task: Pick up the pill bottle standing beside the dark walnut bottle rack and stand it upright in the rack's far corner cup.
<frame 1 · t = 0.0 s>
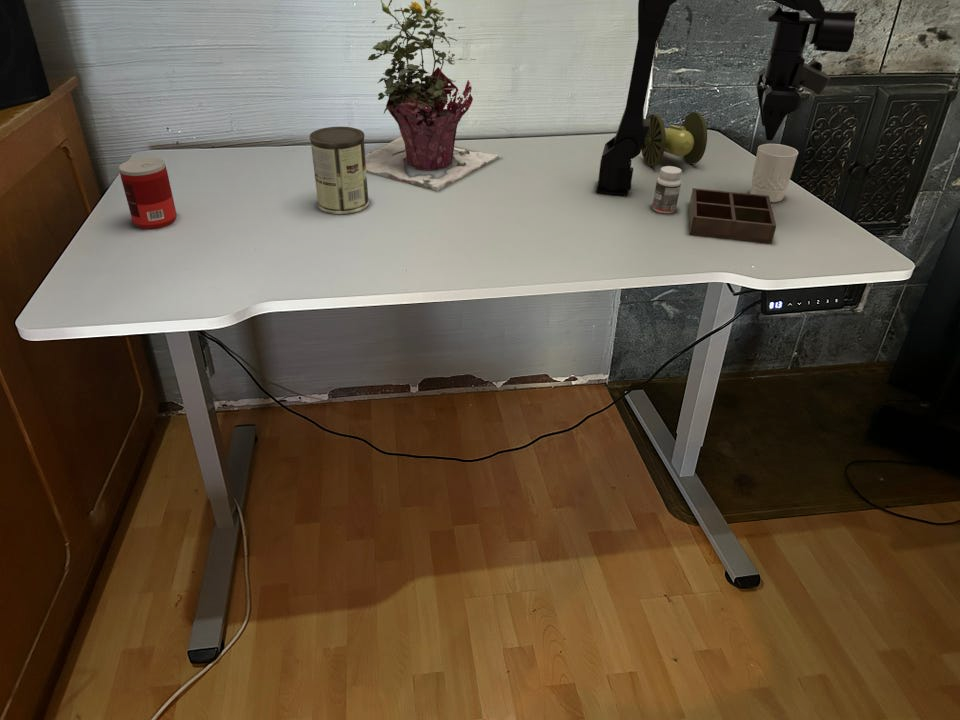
hand: (767, 132, 146), 15 cm above the table, tool pointing down, fingers open, 9 cm apart
potted flower: (421, 162, 171), on the table
pill bottle: (663, 210, 151), on the table
rack: (728, 223, 146), on the table
coffee can: (343, 205, 150), on the table
canned food: (155, 221, 141), on the table
cannon: (658, 155, 178), on the table
white cup: (766, 197, 158), on the table
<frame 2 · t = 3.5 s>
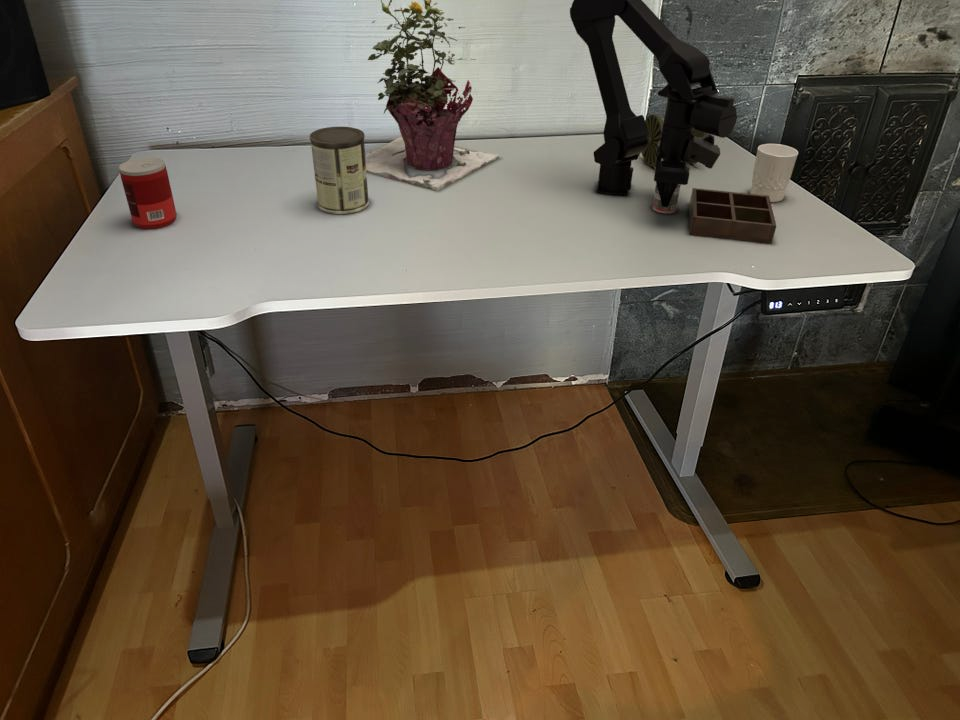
hand: (665, 201, 150), 2 cm above the table, tool pointing down, fingers closed on pill bottle, 5 cm apart
pill bottle: (663, 210, 151), on the table, touching gripper
everything else where it was.
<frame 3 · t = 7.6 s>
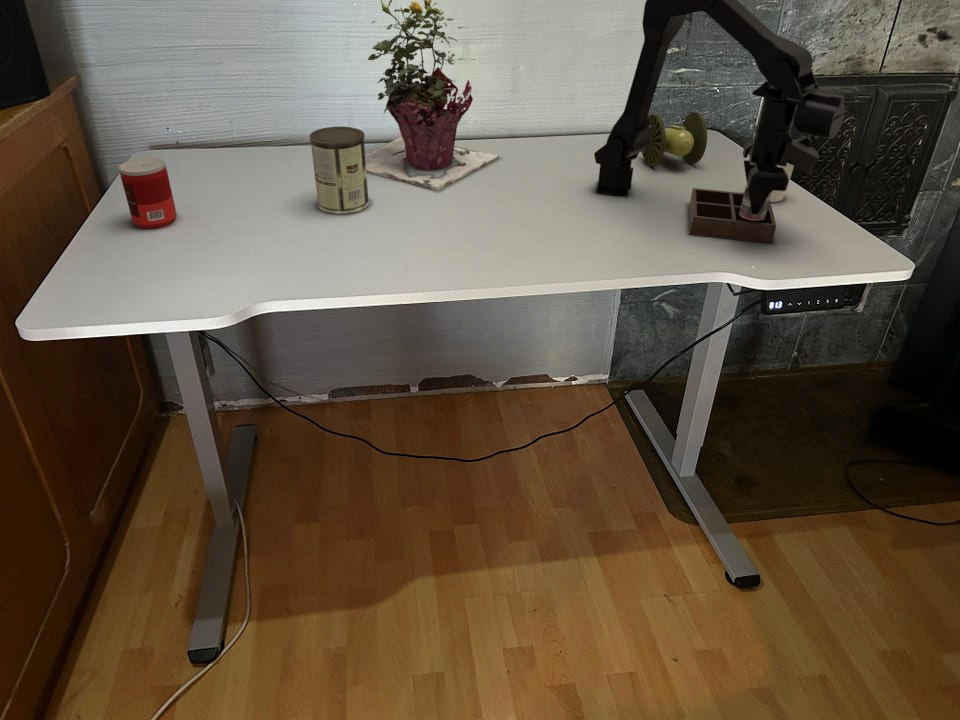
hand: (753, 208, 140), 5 cm above the table, tool pointing down, fingers closed on pill bottle, 5 cm apart
pill bottle: (751, 217, 141), point 3 cm above the table, touching gripper
everything else where it was.
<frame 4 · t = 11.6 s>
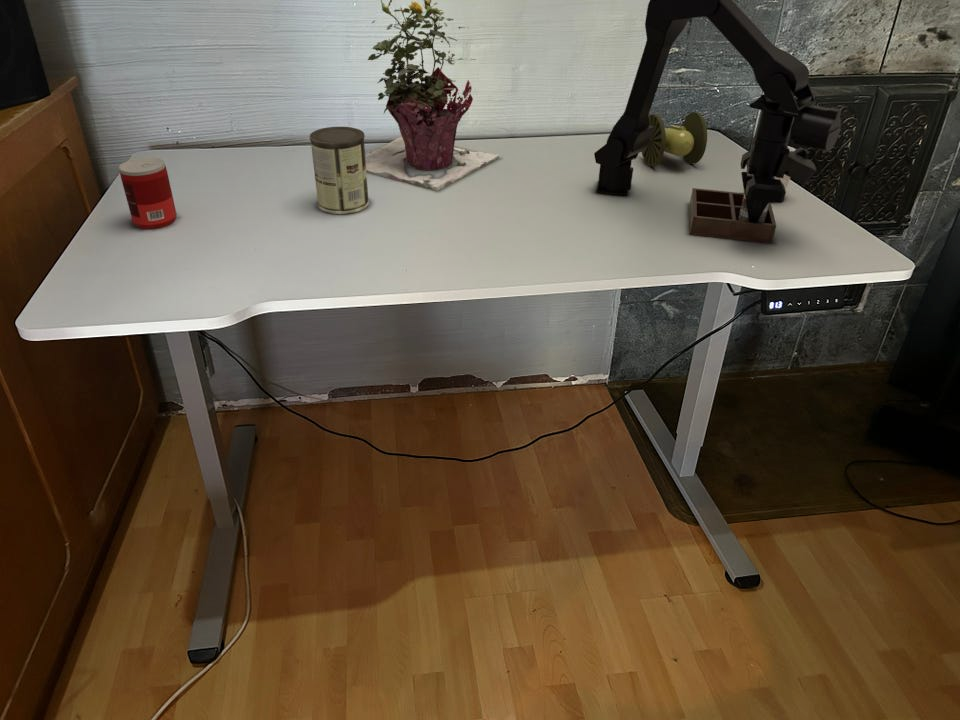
hand: (751, 219, 141), 3 cm above the table, tool pointing down, fingers closed on pill bottle, 5 cm apart
pill bottle: (749, 228, 142), point 1 cm above the table, touching gripper
everything else where it was.
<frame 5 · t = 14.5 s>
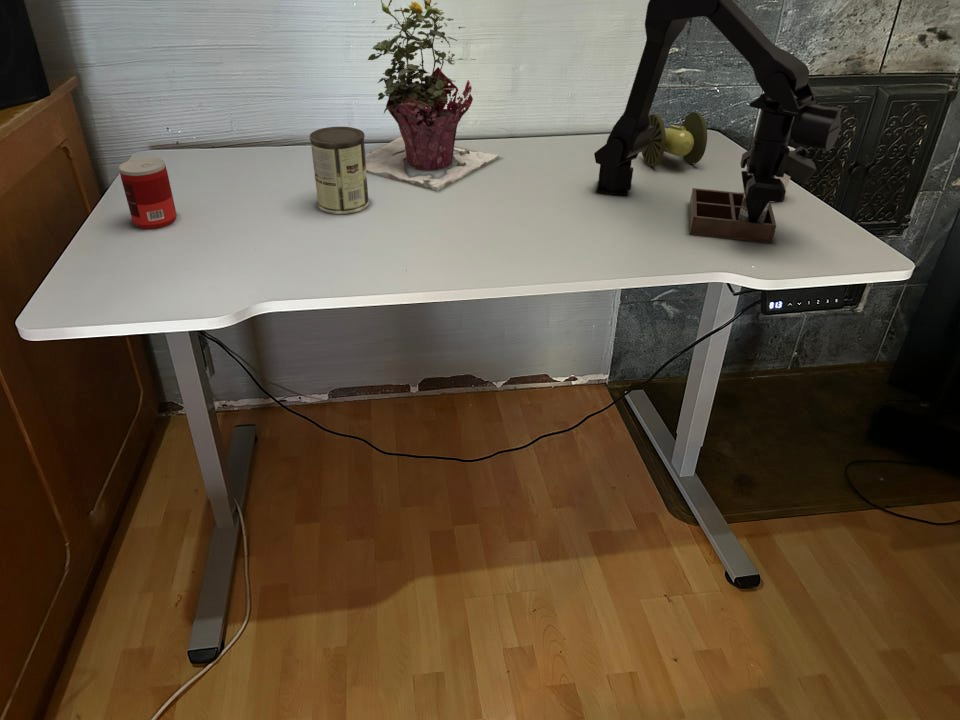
hand: (751, 218, 141), 3 cm above the table, tool pointing down, fingers closed on pill bottle, 5 cm apart
pill bottle: (749, 227, 142), point 1 cm above the table, touching gripper
everything else where it was.
when the fingers open (4 cm above the table, at t = 16.8 s): pill bottle drops 2 cm, resting on rack.
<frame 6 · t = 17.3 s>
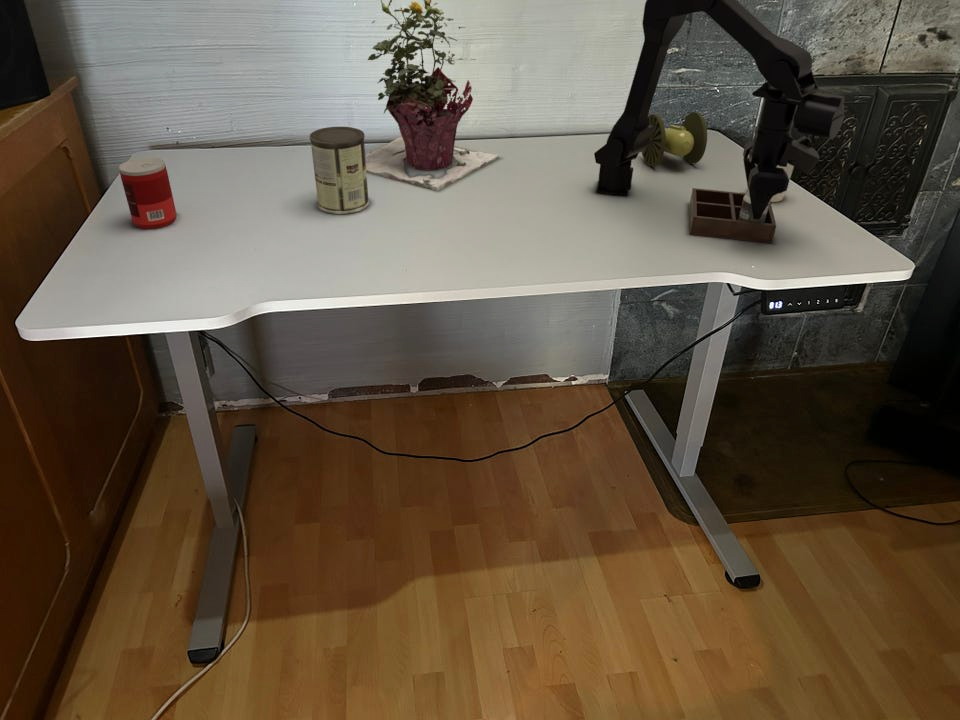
hand: (754, 209, 140), 5 cm above the table, tool pointing down, fingers open, 9 cm apart
pill bottle: (749, 229, 142), point 1 cm above the table, touching rack
everything else where it was.
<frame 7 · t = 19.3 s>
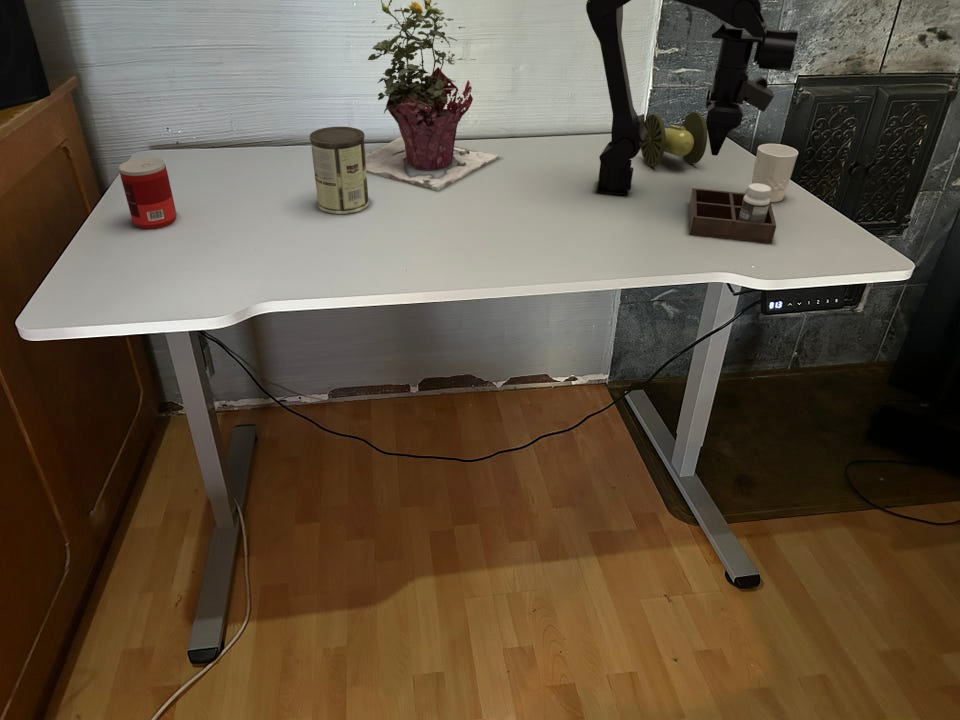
hand: (714, 147, 147), 12 cm above the table, tool pointing down, fingers open, 9 cm apart
nothing on the table moved.
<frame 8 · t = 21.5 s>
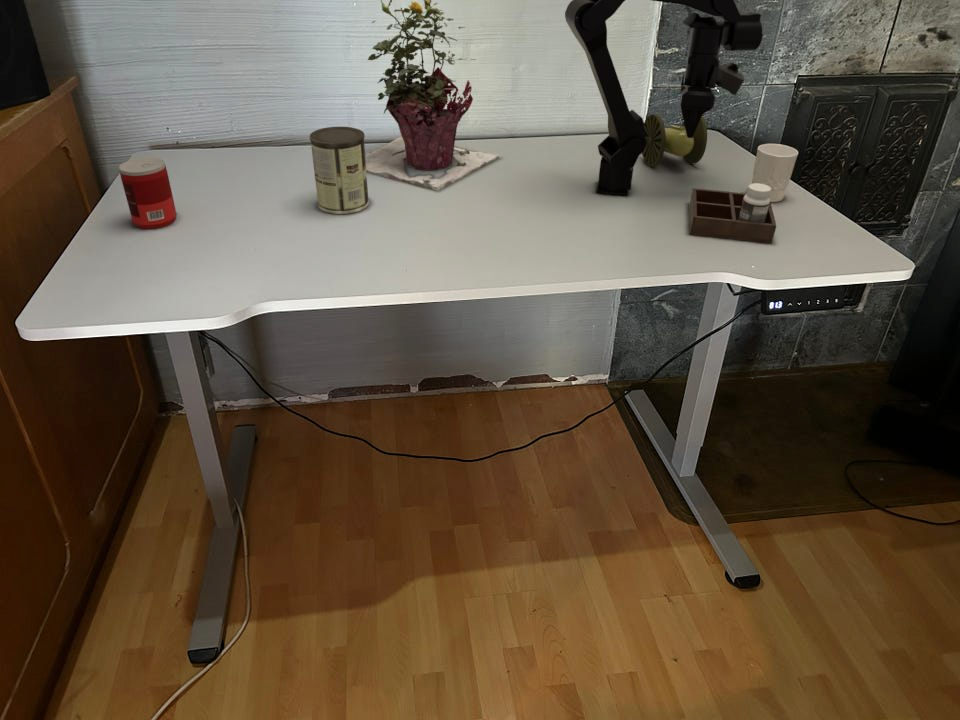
hand: (689, 130, 155), 12 cm above the table, tool pointing down, fingers open, 9 cm apart
nothing on the table moved.
at the end: pill bottle 0.1 cm from the target spot in the rack, point 0.6 cm above the rack's base; pill bottle tilted 0°; the gripper is holding nothing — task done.
